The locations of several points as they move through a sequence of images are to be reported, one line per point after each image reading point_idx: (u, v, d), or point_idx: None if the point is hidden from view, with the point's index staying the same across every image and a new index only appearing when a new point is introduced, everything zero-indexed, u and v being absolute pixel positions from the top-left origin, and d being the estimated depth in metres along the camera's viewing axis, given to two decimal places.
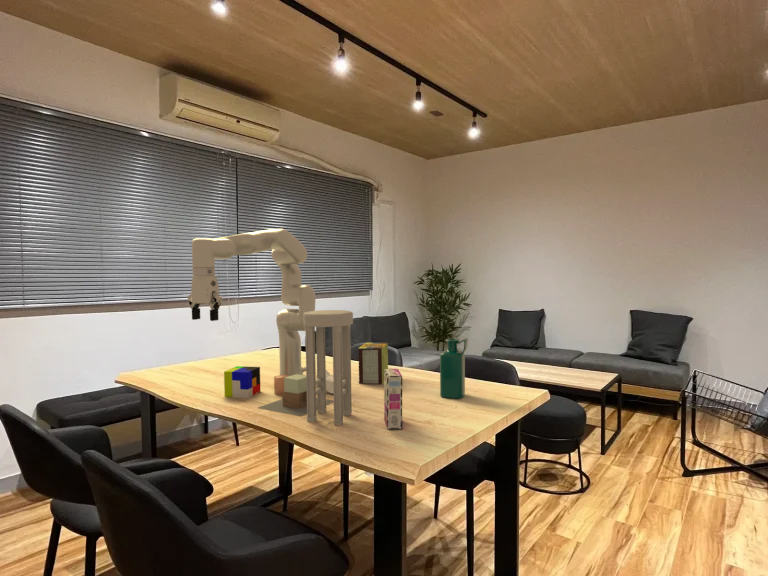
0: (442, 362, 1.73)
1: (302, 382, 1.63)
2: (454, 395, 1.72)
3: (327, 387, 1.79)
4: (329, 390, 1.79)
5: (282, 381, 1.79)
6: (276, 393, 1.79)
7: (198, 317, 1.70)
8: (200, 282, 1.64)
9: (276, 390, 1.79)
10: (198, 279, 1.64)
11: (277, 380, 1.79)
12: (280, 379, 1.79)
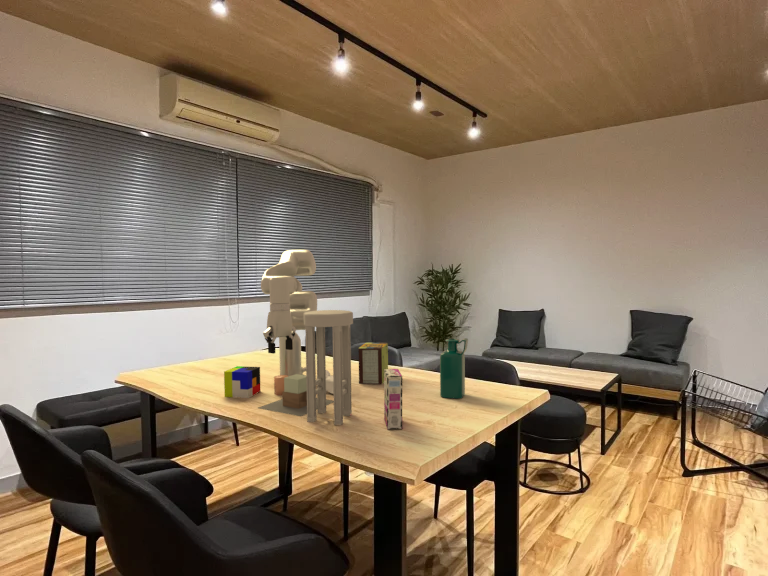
0: (442, 362, 1.73)
1: (302, 382, 1.63)
2: (454, 395, 1.72)
3: (328, 387, 1.79)
4: (329, 390, 1.78)
5: (282, 381, 1.79)
6: (276, 393, 1.79)
7: None
8: (286, 317, 1.80)
9: (276, 390, 1.79)
10: (285, 314, 1.79)
11: (277, 380, 1.79)
12: (280, 379, 1.79)
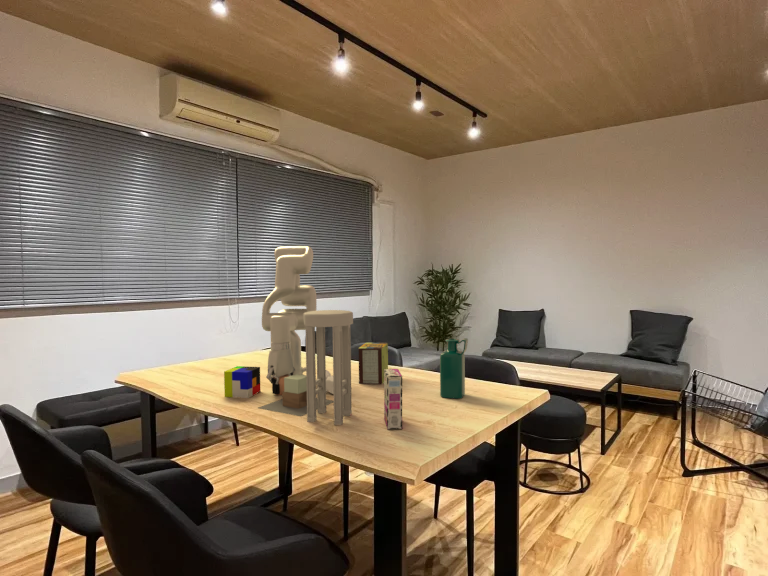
0: (442, 362, 1.73)
1: (302, 382, 1.63)
2: (454, 395, 1.72)
3: (328, 387, 1.79)
4: (330, 390, 1.78)
5: (282, 381, 1.79)
6: None
7: None
8: (287, 355, 1.81)
9: None
10: (285, 352, 1.80)
11: None
12: (280, 379, 1.79)
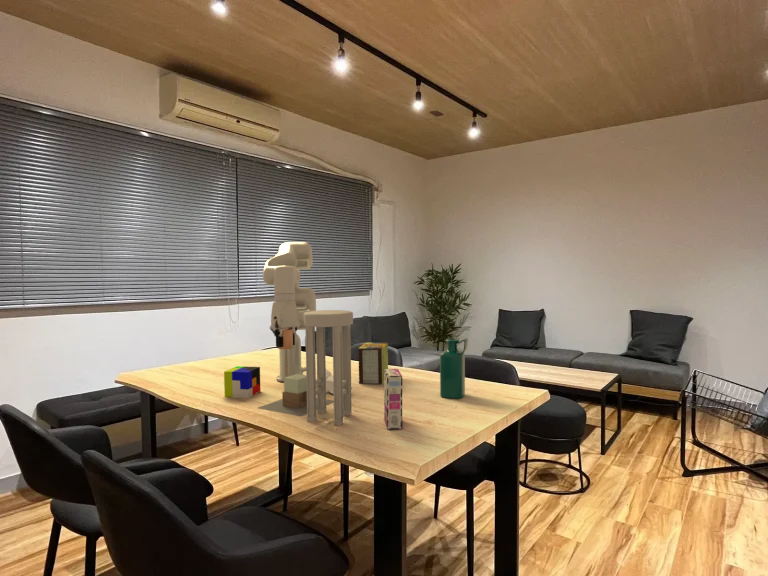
0: (442, 362, 1.73)
1: (302, 382, 1.63)
2: (454, 395, 1.72)
3: (329, 387, 1.79)
4: (331, 390, 1.78)
5: (286, 334, 1.72)
6: None
7: None
8: (291, 307, 1.74)
9: None
10: (290, 304, 1.74)
11: None
12: (284, 331, 1.72)
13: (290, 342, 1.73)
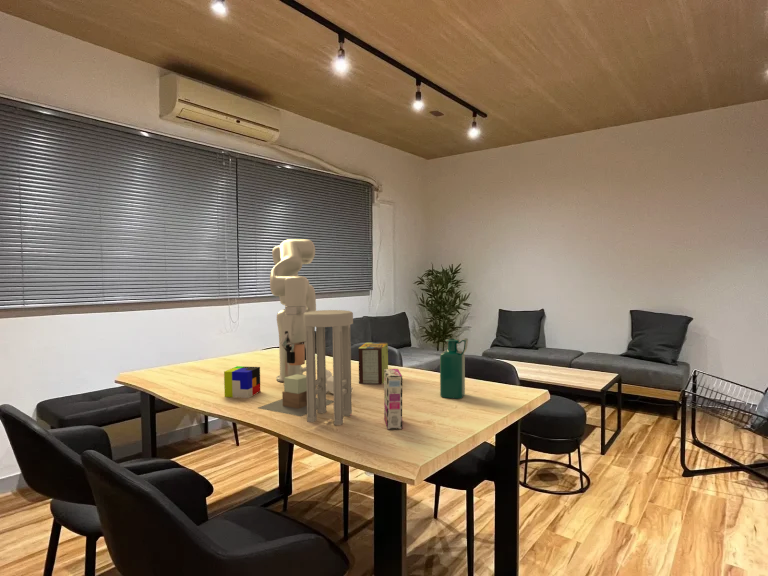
0: (442, 362, 1.73)
1: (302, 382, 1.63)
2: (454, 395, 1.72)
3: (329, 387, 1.79)
4: (331, 390, 1.78)
5: (298, 349, 1.62)
6: None
7: None
8: (303, 321, 1.64)
9: None
10: (301, 318, 1.63)
11: None
12: (295, 346, 1.62)
13: (302, 357, 1.63)
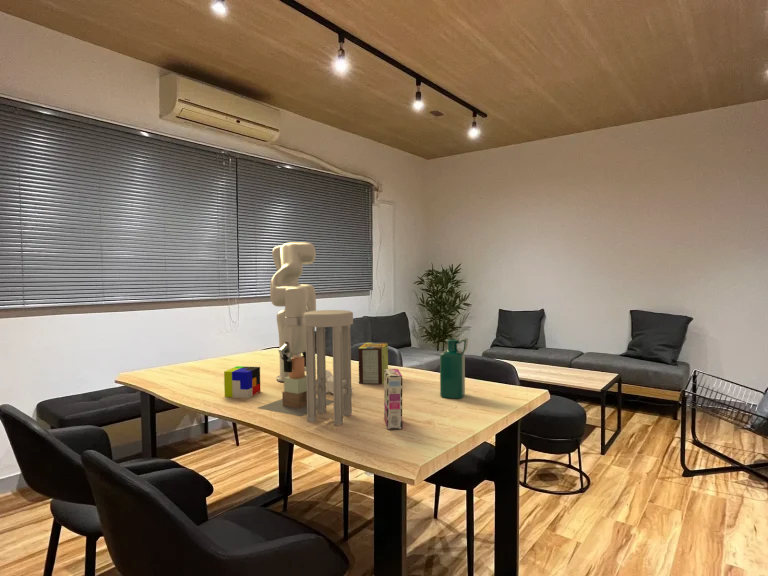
0: (442, 362, 1.73)
1: (302, 382, 1.63)
2: (454, 395, 1.72)
3: (329, 387, 1.79)
4: (331, 390, 1.78)
5: (297, 362, 1.63)
6: (291, 375, 1.63)
7: None
8: (303, 331, 1.64)
9: (291, 372, 1.63)
10: (301, 328, 1.64)
11: (292, 361, 1.63)
12: (295, 360, 1.62)
13: (302, 371, 1.64)
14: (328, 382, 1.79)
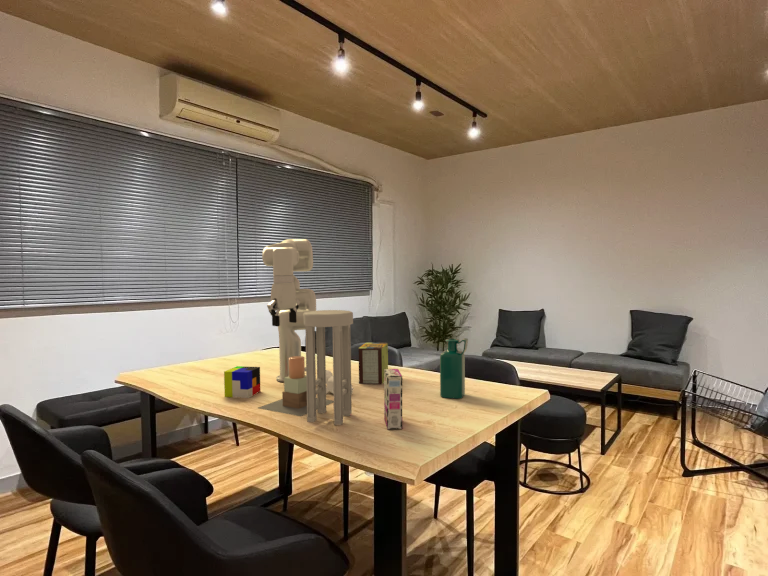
0: (442, 362, 1.73)
1: (302, 382, 1.63)
2: (454, 395, 1.72)
3: (330, 388, 1.78)
4: (332, 391, 1.78)
5: (297, 362, 1.63)
6: (291, 375, 1.63)
7: None
8: (290, 289, 1.76)
9: (291, 372, 1.63)
10: (289, 286, 1.76)
11: (292, 361, 1.63)
12: (295, 360, 1.62)
13: (302, 371, 1.64)
14: (329, 382, 1.79)
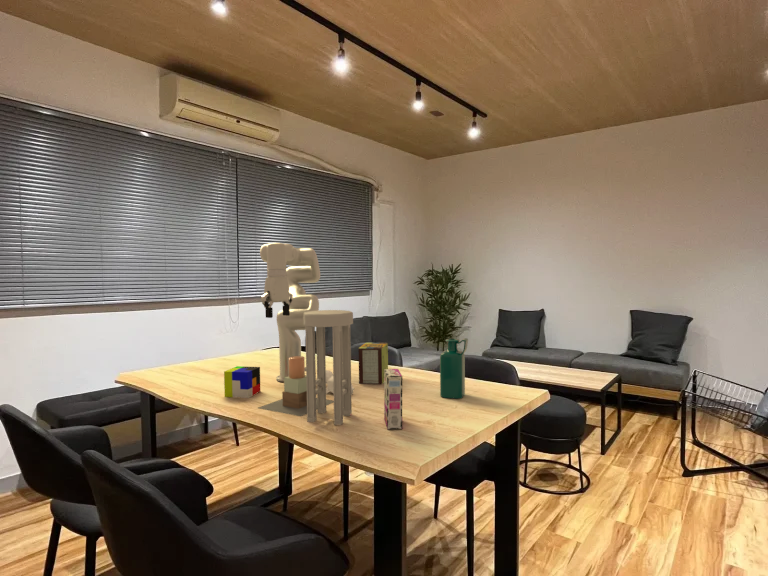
0: (442, 362, 1.73)
1: (302, 382, 1.63)
2: (454, 395, 1.72)
3: (330, 388, 1.78)
4: (332, 391, 1.78)
5: (297, 362, 1.63)
6: (291, 375, 1.63)
7: None
8: (283, 282, 1.84)
9: (291, 372, 1.63)
10: (282, 279, 1.83)
11: (292, 361, 1.63)
12: (295, 360, 1.62)
13: (302, 371, 1.64)
14: (329, 382, 1.79)
